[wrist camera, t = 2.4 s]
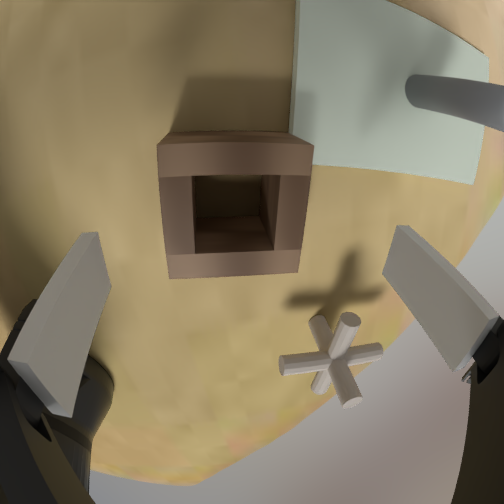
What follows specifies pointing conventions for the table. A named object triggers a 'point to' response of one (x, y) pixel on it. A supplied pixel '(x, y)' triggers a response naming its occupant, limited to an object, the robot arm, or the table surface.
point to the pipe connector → (333, 358)
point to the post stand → (389, 90)
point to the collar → (234, 228)
